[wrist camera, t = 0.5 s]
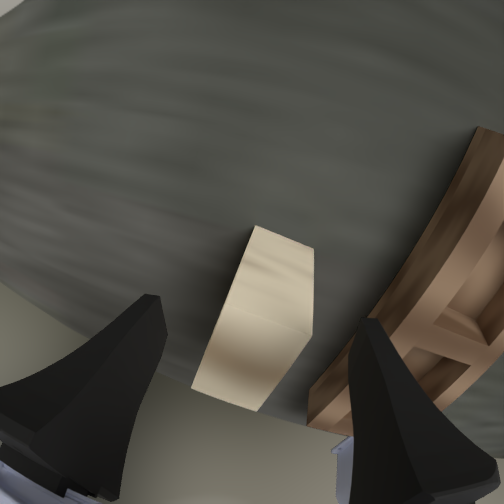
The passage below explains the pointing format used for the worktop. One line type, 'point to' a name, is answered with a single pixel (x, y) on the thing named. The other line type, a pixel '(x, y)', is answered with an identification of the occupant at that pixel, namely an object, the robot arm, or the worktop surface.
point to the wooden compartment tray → (440, 294)
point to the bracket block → (260, 322)
